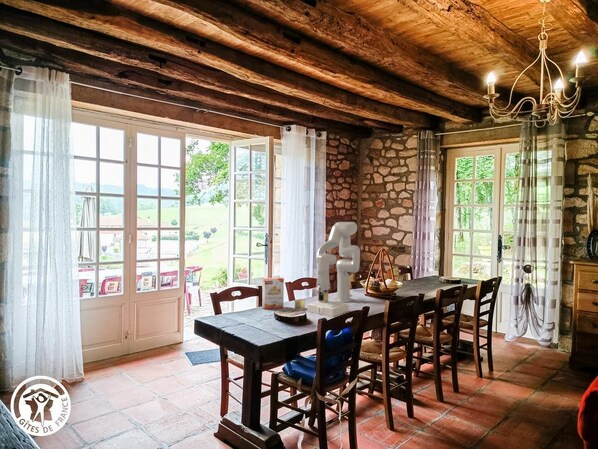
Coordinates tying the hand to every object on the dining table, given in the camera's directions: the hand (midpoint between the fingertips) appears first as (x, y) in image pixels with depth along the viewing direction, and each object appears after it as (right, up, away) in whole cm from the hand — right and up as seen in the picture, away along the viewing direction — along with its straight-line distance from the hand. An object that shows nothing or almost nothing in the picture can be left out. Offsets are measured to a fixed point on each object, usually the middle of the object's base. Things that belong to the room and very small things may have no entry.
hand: (323, 299), depth 278 cm
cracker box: (-35, -7, +7) cm, 36 cm away
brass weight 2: (0, -1, 0) cm, 1 cm away
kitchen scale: (+3, -7, -2) cm, 8 cm away
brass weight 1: (-16, -7, +6) cm, 18 cm away
